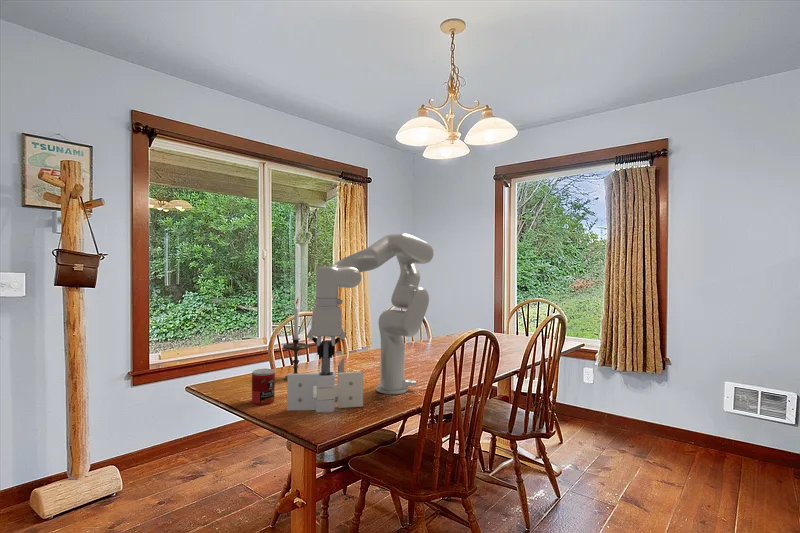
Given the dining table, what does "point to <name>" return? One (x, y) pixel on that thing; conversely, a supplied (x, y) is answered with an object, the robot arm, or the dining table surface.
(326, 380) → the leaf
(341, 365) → the laptop
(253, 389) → the canned food
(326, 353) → the pin
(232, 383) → the dining table surface
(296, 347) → the candlestick
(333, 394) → the leaf
